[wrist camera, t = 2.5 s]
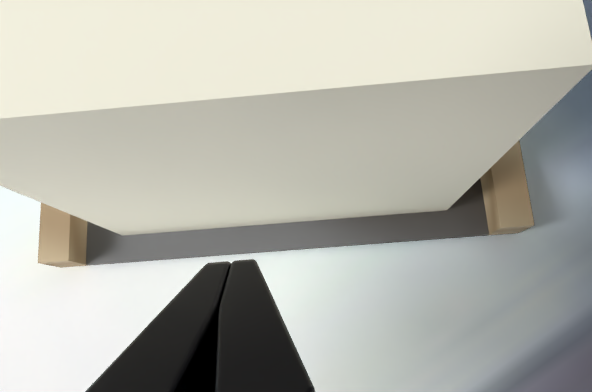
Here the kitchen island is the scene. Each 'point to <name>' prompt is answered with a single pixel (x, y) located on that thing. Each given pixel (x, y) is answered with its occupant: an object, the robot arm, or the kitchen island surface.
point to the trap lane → (299, 227)
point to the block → (272, 104)
